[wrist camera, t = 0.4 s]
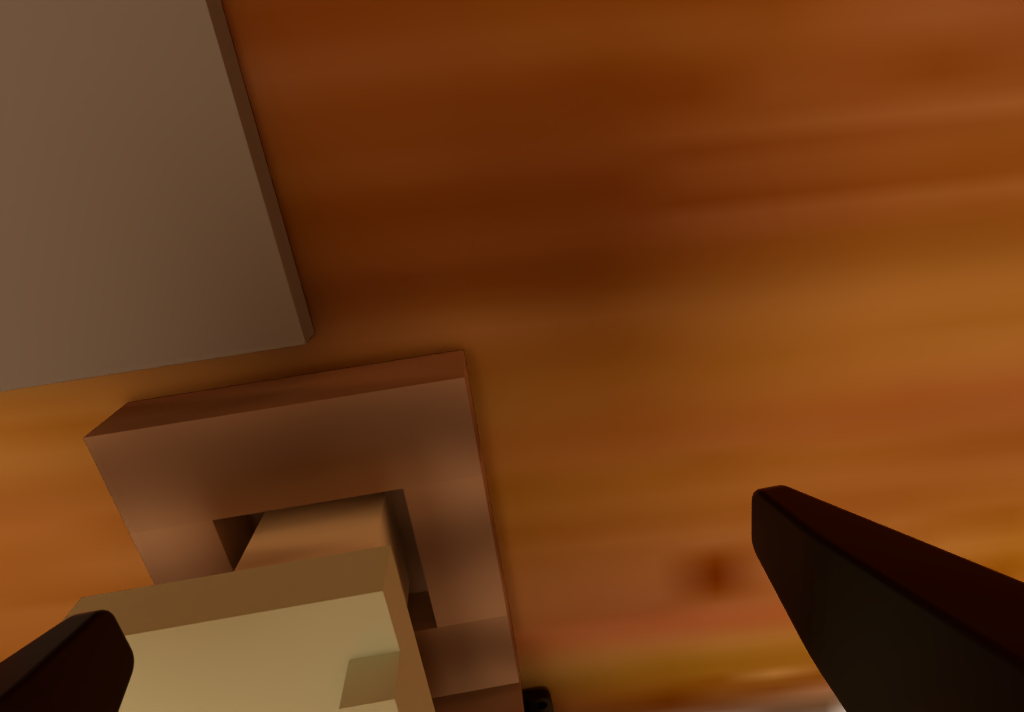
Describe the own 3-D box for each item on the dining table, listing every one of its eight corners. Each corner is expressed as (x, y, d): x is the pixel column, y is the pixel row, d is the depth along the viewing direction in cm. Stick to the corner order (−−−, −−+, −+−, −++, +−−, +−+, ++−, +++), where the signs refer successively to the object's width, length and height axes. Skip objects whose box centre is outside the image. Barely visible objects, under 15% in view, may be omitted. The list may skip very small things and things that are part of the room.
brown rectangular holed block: (517, 655, 26) (547, 903, 17) (-31, 754, 25) (-281, 1068, 16) (463, 349, 20) (468, 500, 12) (-256, 462, 19) (-818, 716, 11)
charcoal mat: (314, 332, 19) (305, 344, 18) (-39, 386, 19) (-71, 402, 18) (196, -87, 15) (174, -107, 14) (-273, -30, 14) (-335, -45, 13)
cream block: (410, 574, 23) (395, 715, 17) (301, 593, 23) (250, 741, 17) (387, 483, 21) (362, 606, 15) (269, 503, 21) (201, 635, 15)
